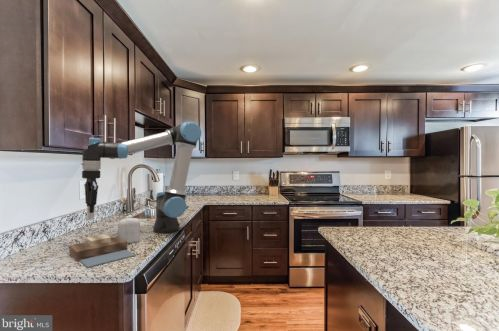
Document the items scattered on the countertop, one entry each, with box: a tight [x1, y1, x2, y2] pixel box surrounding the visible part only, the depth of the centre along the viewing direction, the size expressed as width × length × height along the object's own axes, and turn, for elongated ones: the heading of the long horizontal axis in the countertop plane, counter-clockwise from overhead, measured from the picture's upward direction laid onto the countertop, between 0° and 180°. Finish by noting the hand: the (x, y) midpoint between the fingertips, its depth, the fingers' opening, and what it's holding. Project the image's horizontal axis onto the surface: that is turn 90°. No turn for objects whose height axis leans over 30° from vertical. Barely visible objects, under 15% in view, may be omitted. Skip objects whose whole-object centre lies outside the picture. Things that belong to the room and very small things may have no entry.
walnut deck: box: [68, 235, 128, 262], centre depth 118 cm, size 20×12×4 cm, turn 137°
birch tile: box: [85, 233, 112, 247], centre depth 119 cm, size 8×8×2 cm
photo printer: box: [117, 217, 141, 244], centre depth 133 cm, size 10×4×12 cm, turn 123°
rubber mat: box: [79, 249, 136, 269], centre depth 111 cm, size 18×10×1 cm, turn 137°
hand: (90, 219), depth 126 cm, fingers closed
